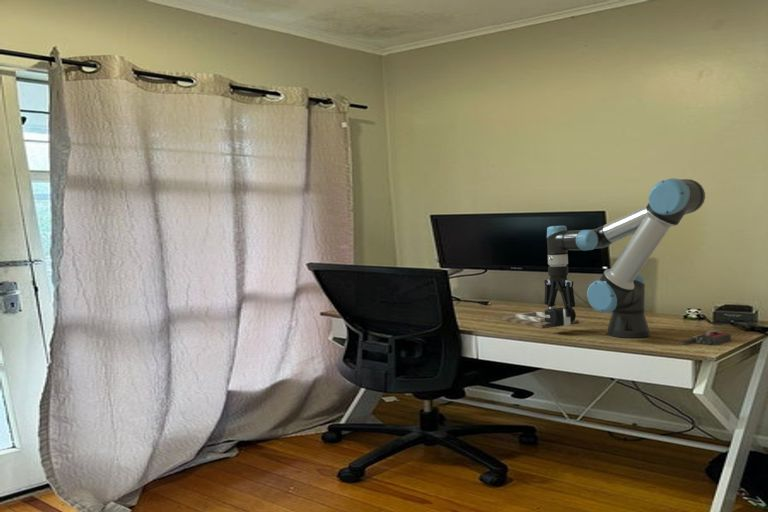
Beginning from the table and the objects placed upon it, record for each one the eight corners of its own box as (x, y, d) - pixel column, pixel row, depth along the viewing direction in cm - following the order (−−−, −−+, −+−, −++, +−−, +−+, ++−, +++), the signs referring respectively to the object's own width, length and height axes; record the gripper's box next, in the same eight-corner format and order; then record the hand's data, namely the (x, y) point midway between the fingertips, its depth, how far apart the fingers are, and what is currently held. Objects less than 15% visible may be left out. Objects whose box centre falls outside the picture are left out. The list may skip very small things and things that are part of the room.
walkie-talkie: (709, 338, 239) (679, 346, 227) (709, 326, 239) (679, 333, 227) (733, 341, 232) (703, 349, 220) (733, 329, 231) (703, 336, 220)
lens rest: (578, 323, 277) (578, 316, 276) (542, 328, 267) (542, 321, 267) (534, 314, 301) (534, 309, 301) (499, 319, 292) (499, 313, 292)
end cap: (557, 327, 250) (556, 310, 249) (544, 325, 256) (543, 308, 256) (576, 324, 254) (575, 307, 254) (563, 322, 261) (562, 305, 260)
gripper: (533, 265, 261) (535, 322, 262) (569, 267, 243) (571, 328, 245) (547, 264, 265) (549, 320, 266) (584, 265, 247) (586, 325, 248)
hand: (560, 324), depth 255 cm, fingers closed on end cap, 7 cm apart
